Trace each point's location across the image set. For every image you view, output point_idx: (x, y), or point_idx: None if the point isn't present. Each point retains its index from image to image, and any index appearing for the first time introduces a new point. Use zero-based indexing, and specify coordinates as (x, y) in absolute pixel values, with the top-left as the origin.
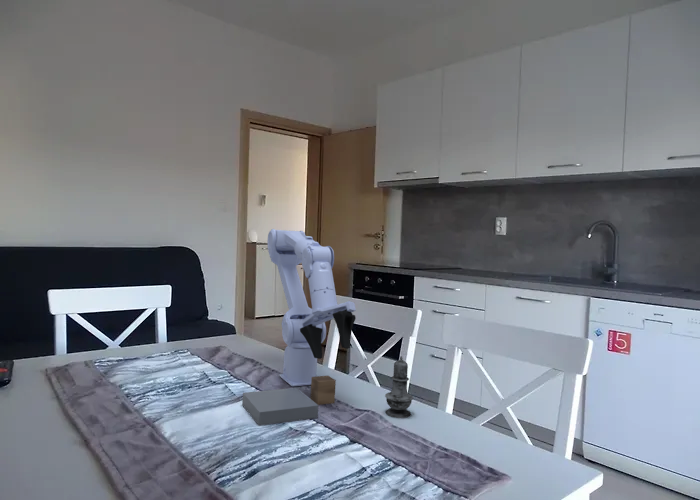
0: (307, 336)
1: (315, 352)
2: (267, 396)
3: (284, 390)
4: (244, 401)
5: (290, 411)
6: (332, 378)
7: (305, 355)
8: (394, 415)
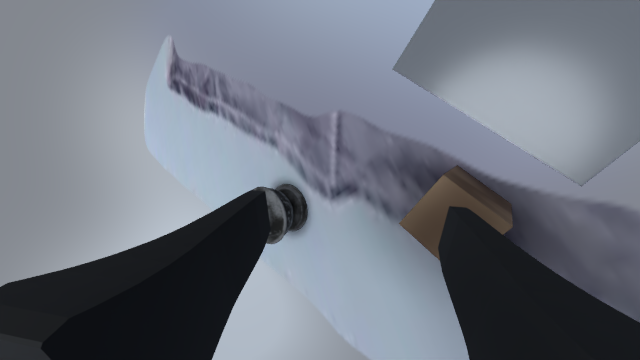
0: (590, 318)
1: (457, 219)
2: None
3: (623, 116)
4: None
5: None
6: (419, 241)
7: None
8: (286, 187)
